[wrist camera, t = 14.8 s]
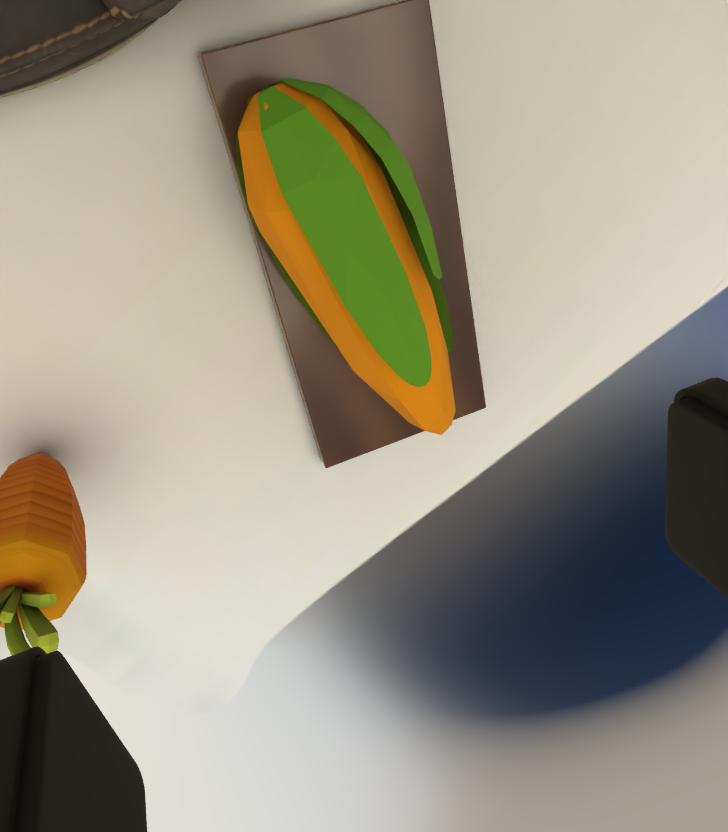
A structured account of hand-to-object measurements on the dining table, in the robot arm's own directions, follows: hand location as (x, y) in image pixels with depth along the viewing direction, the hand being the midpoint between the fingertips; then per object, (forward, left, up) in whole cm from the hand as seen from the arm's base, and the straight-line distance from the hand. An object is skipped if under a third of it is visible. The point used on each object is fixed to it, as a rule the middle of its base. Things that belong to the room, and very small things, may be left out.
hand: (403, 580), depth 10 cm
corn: (-7, +5, -27) cm, 29 cm away
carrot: (+12, +10, -28) cm, 32 cm away
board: (-8, +5, -28) cm, 30 cm away
